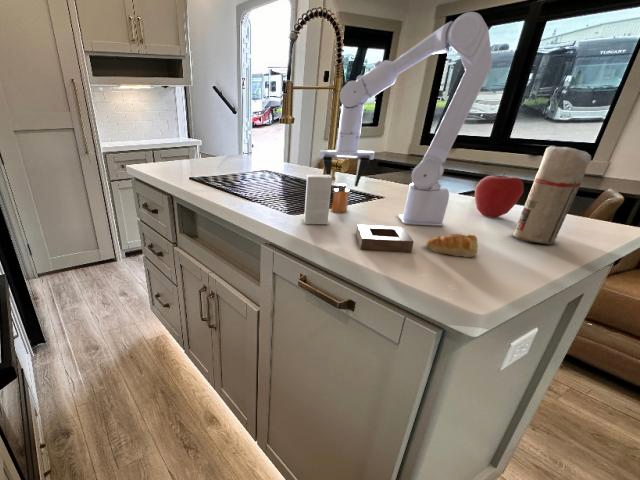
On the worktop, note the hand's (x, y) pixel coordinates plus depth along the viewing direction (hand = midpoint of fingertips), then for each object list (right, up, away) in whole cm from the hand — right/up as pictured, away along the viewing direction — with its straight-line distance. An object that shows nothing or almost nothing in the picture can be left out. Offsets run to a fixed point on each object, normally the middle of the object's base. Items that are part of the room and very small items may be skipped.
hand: (342, 185), depth 103 cm
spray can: (+39, -19, -20) cm, 48 cm away
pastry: (+16, -23, -27) cm, 39 cm away
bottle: (0, -6, +3) cm, 7 cm away
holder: (+3, -20, -22) cm, 30 cm away
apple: (+42, -9, -2) cm, 43 cm away
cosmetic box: (-9, -12, -7) cm, 17 cm away
